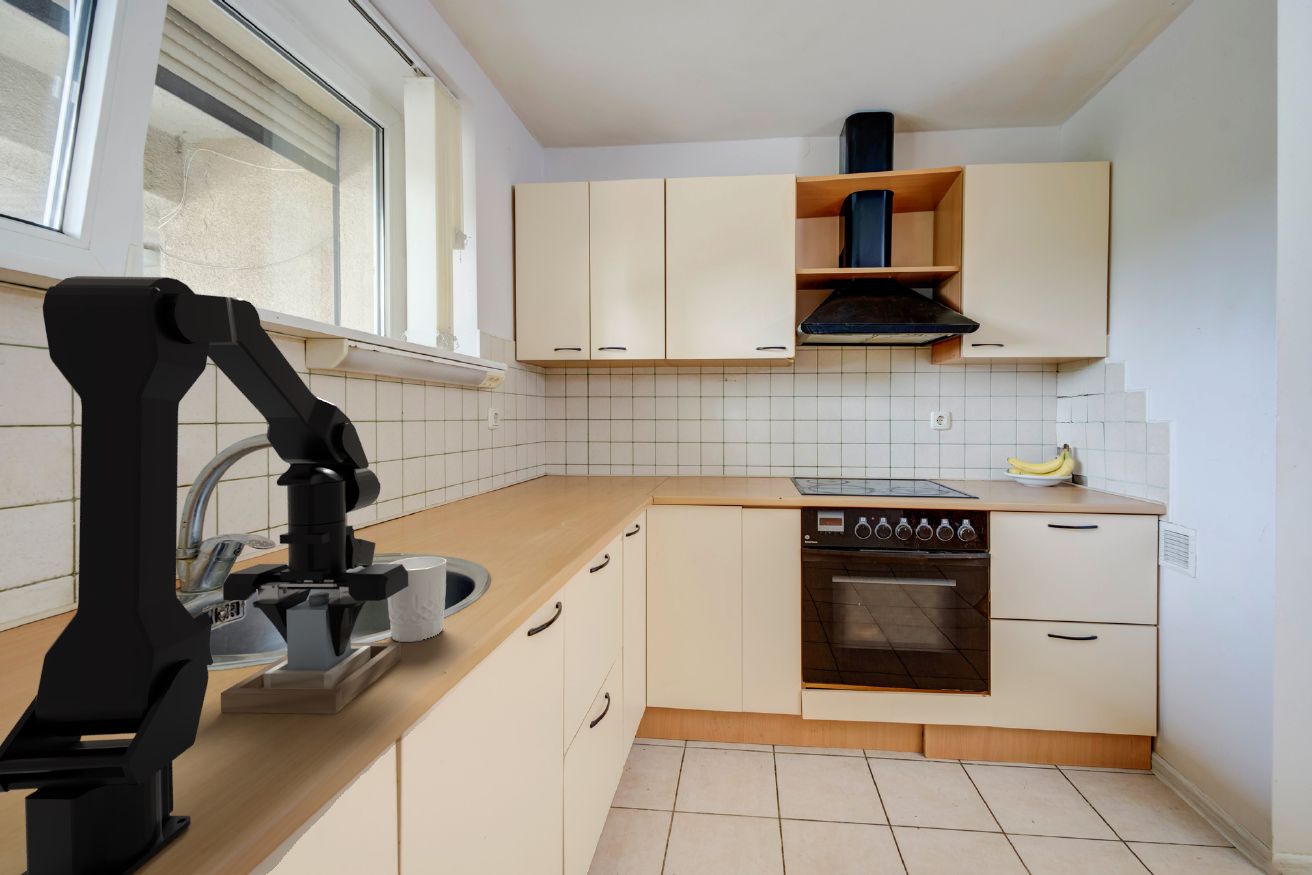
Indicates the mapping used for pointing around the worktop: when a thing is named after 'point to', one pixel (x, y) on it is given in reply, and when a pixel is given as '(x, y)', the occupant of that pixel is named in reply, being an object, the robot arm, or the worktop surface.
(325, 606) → the block
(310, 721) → the worktop surface
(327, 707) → the walnut box
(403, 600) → the white cup
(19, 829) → the worktop surface
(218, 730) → the worktop surface
